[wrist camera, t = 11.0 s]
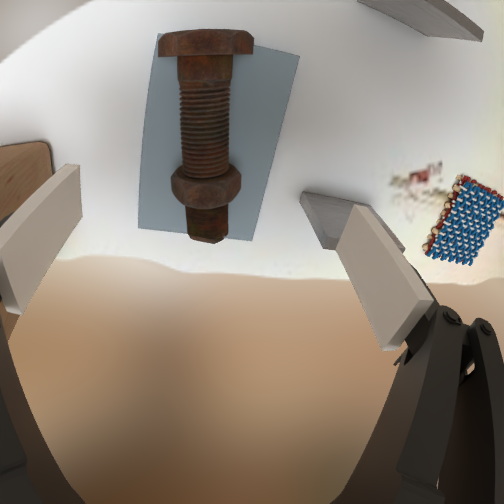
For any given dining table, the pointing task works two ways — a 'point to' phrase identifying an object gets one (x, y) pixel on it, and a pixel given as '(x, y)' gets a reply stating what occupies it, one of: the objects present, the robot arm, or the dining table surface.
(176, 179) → the bolt
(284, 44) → the dining table surface
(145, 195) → the slate pad
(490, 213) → the woven mat
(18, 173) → the wooden block
